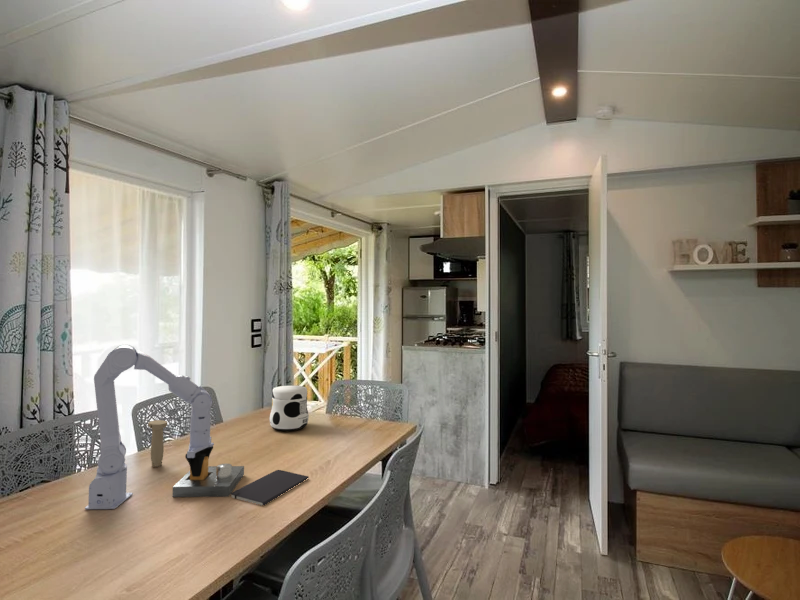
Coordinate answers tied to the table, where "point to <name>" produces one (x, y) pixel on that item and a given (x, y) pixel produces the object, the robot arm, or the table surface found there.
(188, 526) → the table surface
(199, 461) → the robot arm
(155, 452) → the handle
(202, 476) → the orange rectangular block
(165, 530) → the table surface
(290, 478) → the notebook
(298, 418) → the milk container
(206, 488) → the hub plate
